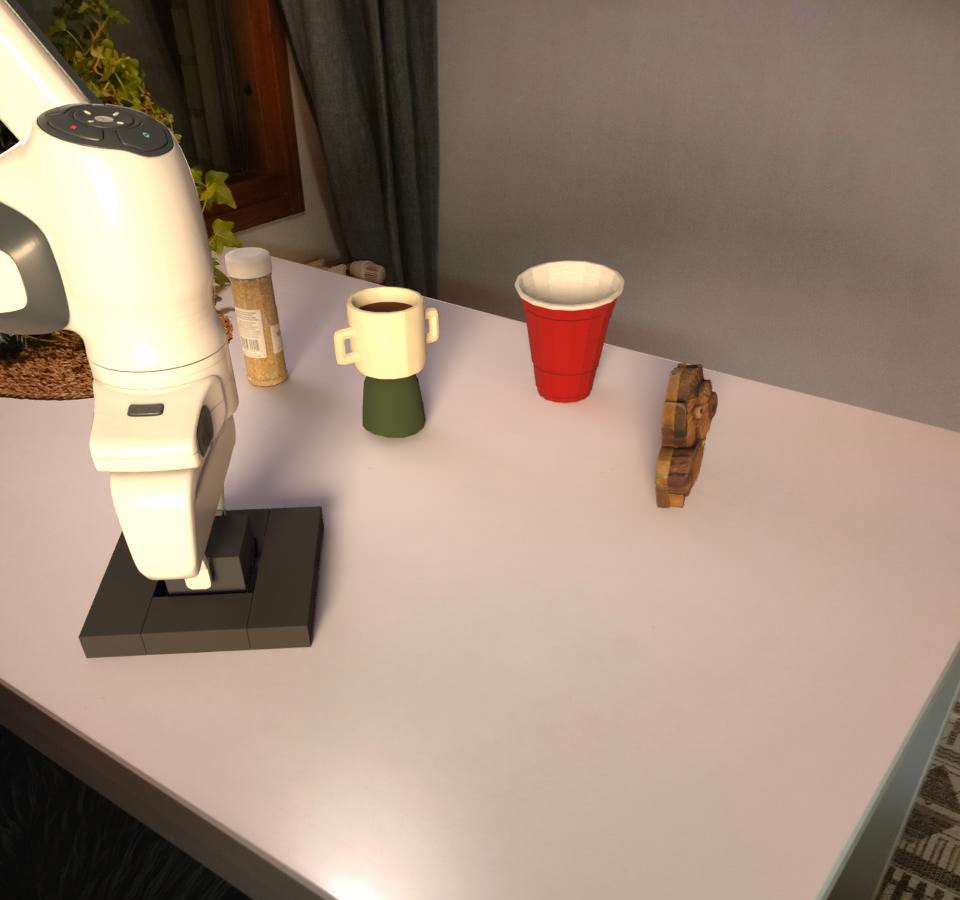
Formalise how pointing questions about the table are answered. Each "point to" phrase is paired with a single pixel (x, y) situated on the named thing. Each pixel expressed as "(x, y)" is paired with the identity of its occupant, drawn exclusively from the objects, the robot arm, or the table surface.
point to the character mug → (388, 356)
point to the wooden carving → (683, 433)
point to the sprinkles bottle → (257, 315)
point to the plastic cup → (567, 323)
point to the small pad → (225, 558)
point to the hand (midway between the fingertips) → (208, 556)
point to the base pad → (214, 598)
